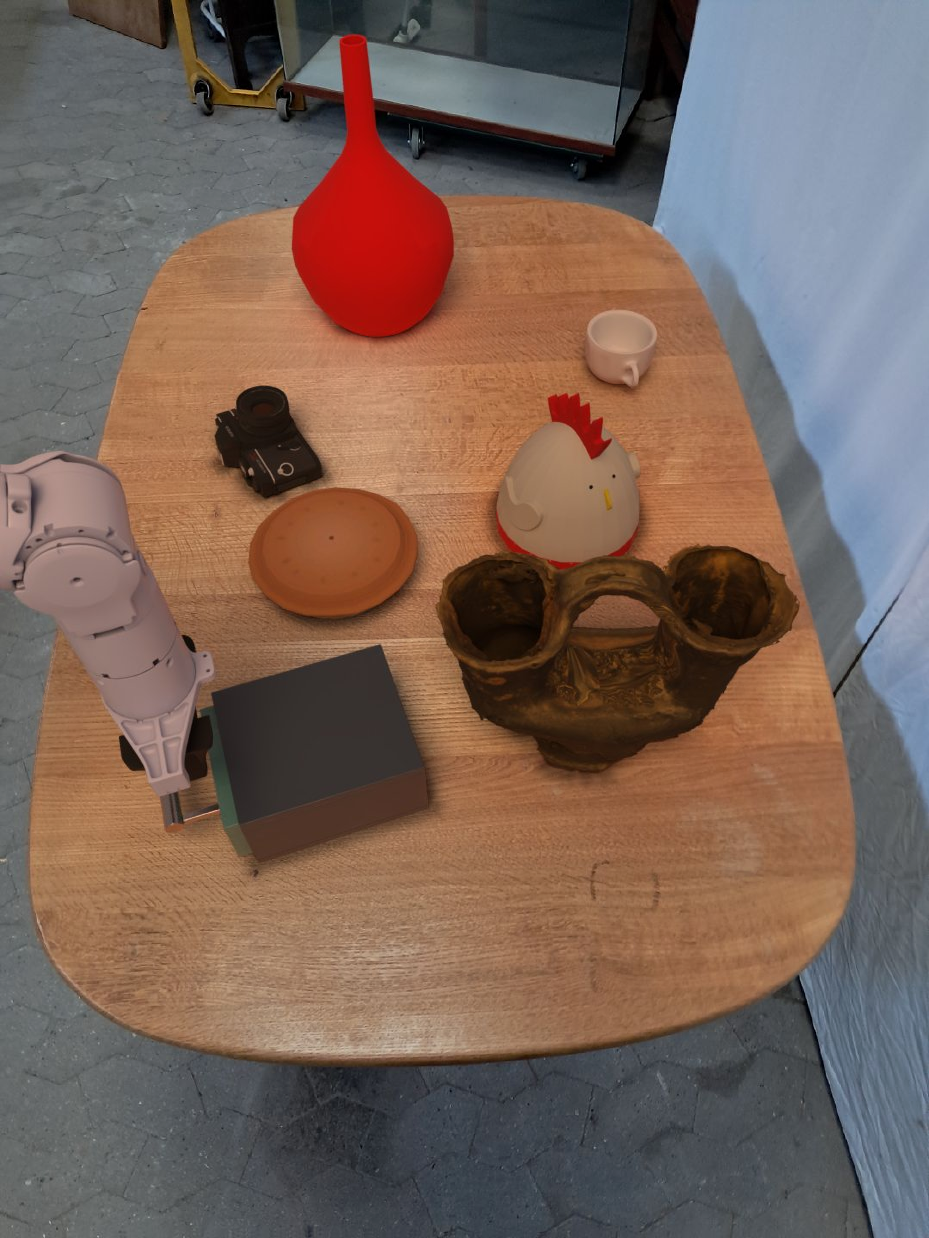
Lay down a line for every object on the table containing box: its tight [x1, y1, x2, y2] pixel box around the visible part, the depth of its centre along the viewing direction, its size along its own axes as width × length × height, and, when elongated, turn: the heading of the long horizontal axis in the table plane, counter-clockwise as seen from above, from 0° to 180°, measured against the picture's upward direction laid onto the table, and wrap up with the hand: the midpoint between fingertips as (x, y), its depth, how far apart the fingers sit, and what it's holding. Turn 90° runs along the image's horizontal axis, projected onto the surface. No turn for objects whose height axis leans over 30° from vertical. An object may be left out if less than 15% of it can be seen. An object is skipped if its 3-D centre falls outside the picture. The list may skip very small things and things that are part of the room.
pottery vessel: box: [434, 543, 800, 774], centre depth 68 cm, size 25×11×20 cm, turn 92°
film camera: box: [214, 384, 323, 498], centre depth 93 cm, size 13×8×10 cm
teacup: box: [584, 309, 658, 388], centre depth 100 cm, size 10×8×5 cm
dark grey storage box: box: [210, 643, 430, 864], centre depth 71 cm, size 14×12×7 cm
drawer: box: [159, 705, 253, 858], centre depth 70 cm, size 17×10×5 cm, turn 109°
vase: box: [291, 34, 455, 338], centre depth 98 cm, size 18×18×30 cm
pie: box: [248, 486, 419, 620], centre depth 84 cm, size 16×16×5 cm
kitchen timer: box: [495, 392, 642, 570], centre depth 83 cm, size 14×14×15 cm
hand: (187, 749), depth 64 cm, fingers open, 4 cm apart
